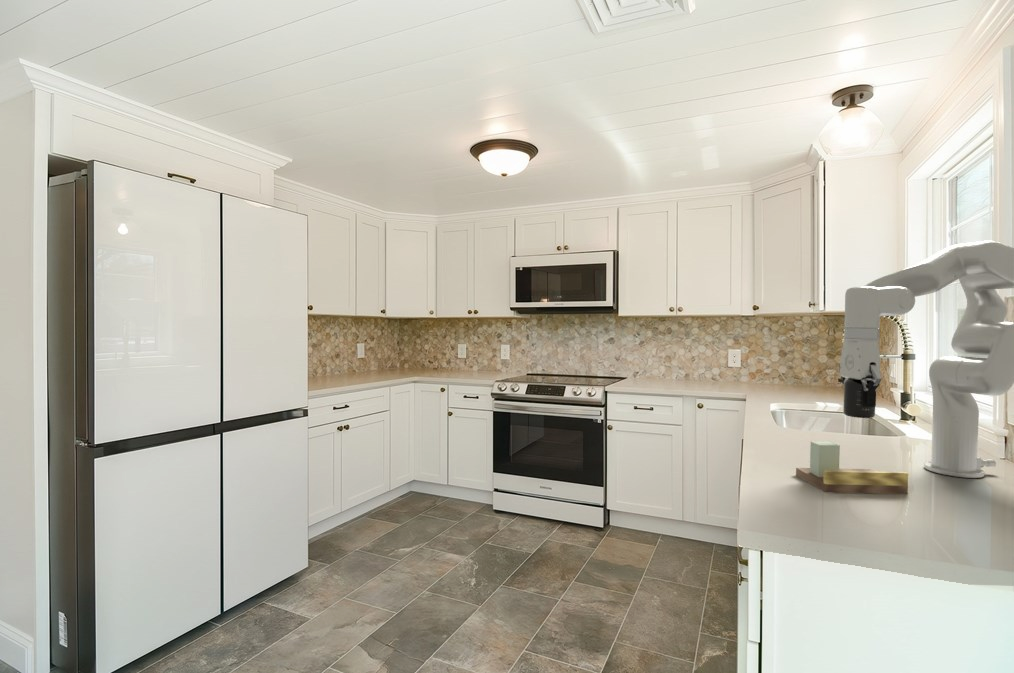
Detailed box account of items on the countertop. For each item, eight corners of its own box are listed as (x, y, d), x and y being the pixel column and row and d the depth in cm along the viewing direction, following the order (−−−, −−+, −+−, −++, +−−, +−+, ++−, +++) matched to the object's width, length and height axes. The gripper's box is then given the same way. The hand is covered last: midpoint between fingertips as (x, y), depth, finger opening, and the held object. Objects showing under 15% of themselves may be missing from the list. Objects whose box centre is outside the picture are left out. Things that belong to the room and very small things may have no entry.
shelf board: (869, 476, 138) (870, 457, 138) (907, 494, 124) (908, 473, 124) (796, 475, 139) (796, 456, 139) (825, 492, 125) (826, 471, 125)
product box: (829, 472, 135) (830, 441, 135) (838, 477, 131) (839, 445, 131) (809, 472, 135) (810, 441, 135) (818, 476, 131) (819, 445, 131)
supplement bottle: (838, 413, 139) (839, 368, 139) (865, 414, 138) (867, 368, 138) (851, 418, 132) (852, 370, 132) (880, 418, 131) (882, 371, 131)
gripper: (828, 334, 143) (826, 399, 144) (866, 336, 126) (864, 409, 127) (856, 334, 143) (855, 399, 143) (899, 336, 126) (897, 410, 126)
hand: (859, 403), depth 135 cm, fingers closed on supplement bottle, 6 cm apart
